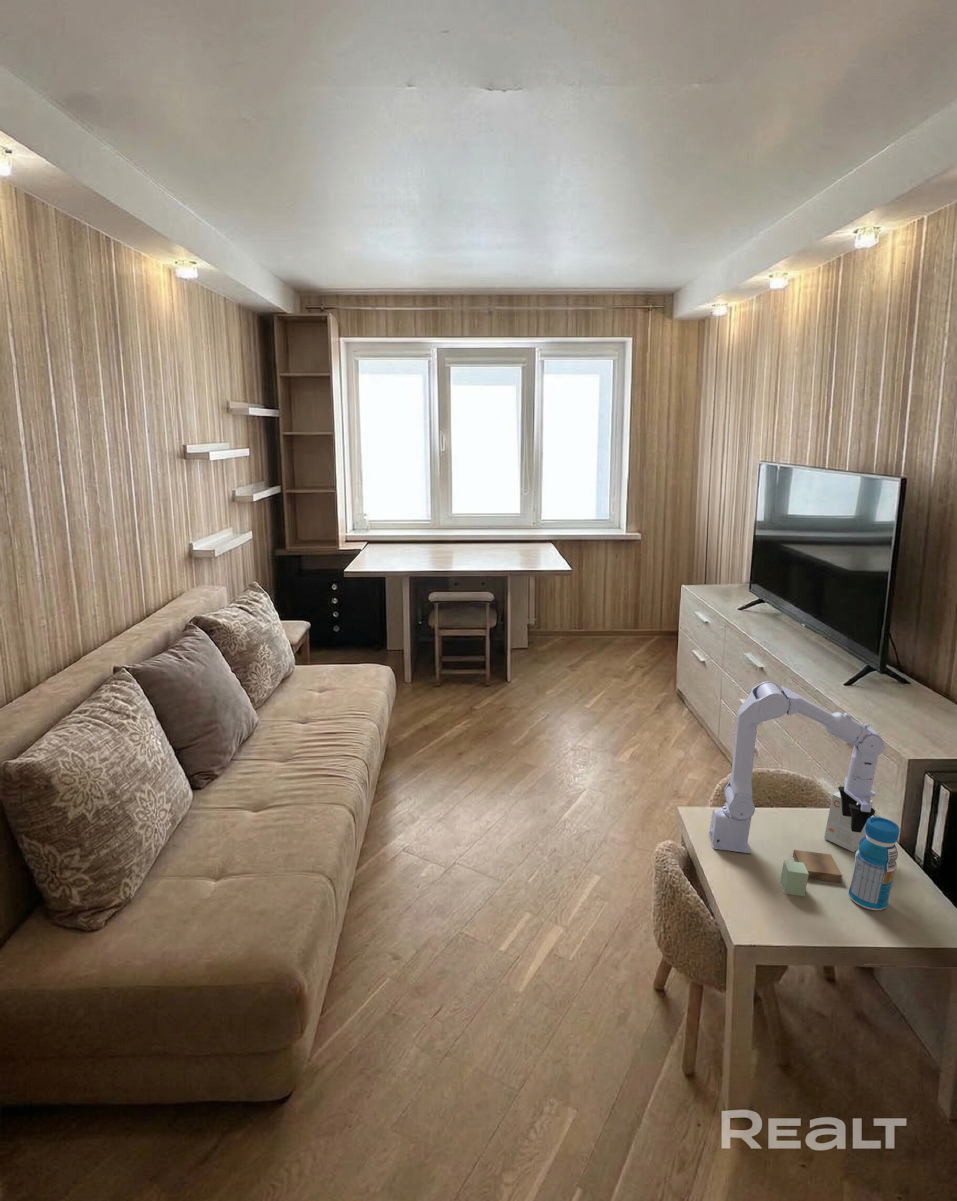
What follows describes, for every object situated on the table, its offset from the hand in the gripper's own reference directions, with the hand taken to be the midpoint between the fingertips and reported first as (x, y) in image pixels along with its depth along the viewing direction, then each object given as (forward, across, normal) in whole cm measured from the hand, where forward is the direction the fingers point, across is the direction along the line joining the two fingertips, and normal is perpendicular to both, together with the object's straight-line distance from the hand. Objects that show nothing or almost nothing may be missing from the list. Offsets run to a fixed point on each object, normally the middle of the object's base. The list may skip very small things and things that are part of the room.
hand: (851, 823), depth 191 cm
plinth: (+10, -7, +9) cm, 15 cm away
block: (+10, -17, +16) cm, 26 cm away
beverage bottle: (+10, -17, 0) cm, 20 cm away
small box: (+10, +8, -2) cm, 13 cm away
